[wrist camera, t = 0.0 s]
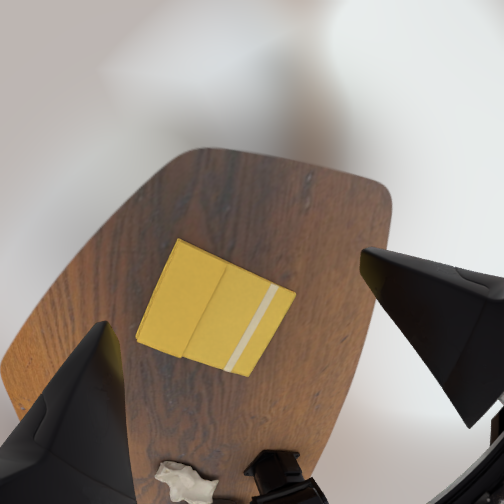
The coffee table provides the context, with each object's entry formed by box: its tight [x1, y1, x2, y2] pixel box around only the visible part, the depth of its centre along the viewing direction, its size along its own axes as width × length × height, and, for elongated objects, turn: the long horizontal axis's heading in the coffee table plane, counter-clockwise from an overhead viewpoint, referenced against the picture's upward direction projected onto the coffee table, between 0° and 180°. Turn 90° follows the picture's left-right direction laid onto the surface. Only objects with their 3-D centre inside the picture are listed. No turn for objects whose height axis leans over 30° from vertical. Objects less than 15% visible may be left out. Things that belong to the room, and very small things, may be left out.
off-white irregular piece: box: [154, 461, 219, 504], centre depth 27 cm, size 6×10×4 cm, turn 42°
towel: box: [135, 238, 296, 377], centre depth 25 cm, size 10×12×1 cm
